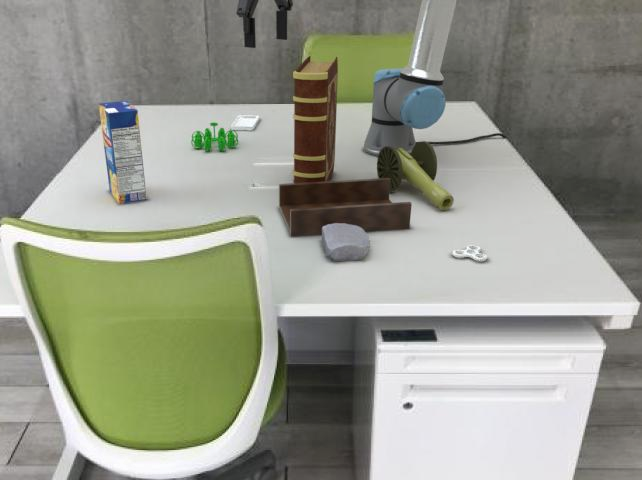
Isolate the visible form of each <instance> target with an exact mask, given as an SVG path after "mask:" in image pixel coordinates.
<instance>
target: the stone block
mask: <svg viewBox="0 0 642 480" xmlns="http://www.w3.org/2000/svg"><path fill="white" fill-rule="evenodd" d="M321 242H322V245H323V248H324V252H325V254H326V258H327V259H329V260H330V261H331V262H337V261H339V262H344V261H358V260H362V259H364V257H365V256H366V255H367V254H368V253H369V251H370V249H371V239H370V237H369V236H368V235H367V232H365V231H364V230H363V229H362V228H361V227H358V226H356V225H350V224H345V223H343V224H342V223H340V224H339V223H334V224H328V225H326V226H323V227H322V235H321Z"/></svg>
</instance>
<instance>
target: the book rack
mask: <svg viewBox="0 0 642 480" xmlns="http://www.w3.org/2000/svg"><path fill="white" fill-rule="evenodd" d="M390 180H391V179H390V178H378V177H377V178H359V179H343V180H331V181H323V182H305V183H294V182H289V183H279V184H278V208H279V211H280V213H281V216H282V218H283V221H284V223H285V226H286V228H287V230H288V233H289V236H290V237H306V236H322V227H323V226H326V225H328V224H334V223H339V224H340V223H342V224H343V223H345V224H350V225H356V226H358V227H361V228H362V229H363V230H364V231H365V233H367V232H381V231H383V232H384V231H385V232H386V231H397V230H399V231H400V230H410V228H411V226H410V225H411V217H412V216H411V215H412V206H413V205H412V204H413V203H412V202H411V201H402V202H392V200H390V193H391V192H390Z"/></svg>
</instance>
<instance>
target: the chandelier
mask: <svg viewBox="0 0 642 480" xmlns="http://www.w3.org/2000/svg"><path fill="white" fill-rule="evenodd" d="M209 125H210V126H211V127H213V133H212V131H211V129H210V128H209V127H206V128H205V130H204V132H203V131H200V130H196V131H194V132H193V133H192V134H191V141H190V144H191V147H193V148H194V149H195V150H200V149H202V148H204V151H205V152H207V153H208V152H210V151H211V150H212V146H213V145H212V143H213V142H215V143H216V142H217V149H218V150H220V152H225V150H226V147H227V148H229V149H235V148H236V147H237V146H238V144H239V139H238V138H239V137H238V132H236V130H231V129H229V130H227V131H225V128H224V127H220V128H219V129H218V131H217V132H218V133H217V137H216V127H217V126H219V124H218V122H210V123H209Z"/></svg>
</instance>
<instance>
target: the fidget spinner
mask: <svg viewBox="0 0 642 480" xmlns="http://www.w3.org/2000/svg"><path fill="white" fill-rule="evenodd" d="M451 254H452V256H453V257H455V258H460V259H461V258H471V259H473V260H474V261H477V262H484V261H485V262H486V261H487V260H488V256H487V255H486V254H484V253H482V252H481V247H480V246H478V245H475V244H470V245H467V246H466V248H465V249H455V250H453V251H452V253H451Z"/></svg>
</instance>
